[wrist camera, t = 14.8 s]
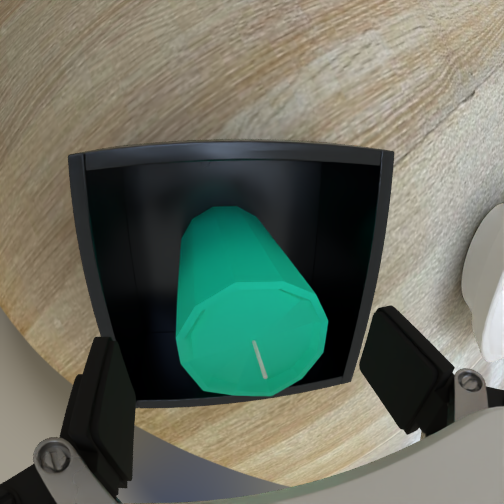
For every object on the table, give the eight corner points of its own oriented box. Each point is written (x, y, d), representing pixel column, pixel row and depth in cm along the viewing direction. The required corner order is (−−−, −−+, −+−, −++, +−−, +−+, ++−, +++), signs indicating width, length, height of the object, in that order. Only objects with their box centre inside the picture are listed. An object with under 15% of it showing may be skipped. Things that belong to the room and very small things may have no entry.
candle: (191, 195, 19) (192, 285, 8) (279, 216, 20) (375, 313, 9) (172, 279, 20) (165, 421, 10) (253, 293, 22) (308, 426, 11)
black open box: (139, 333, 23) (127, 408, 15) (113, 146, 17) (66, 155, 10) (311, 319, 25) (351, 382, 18) (326, 142, 20) (394, 151, 13)
